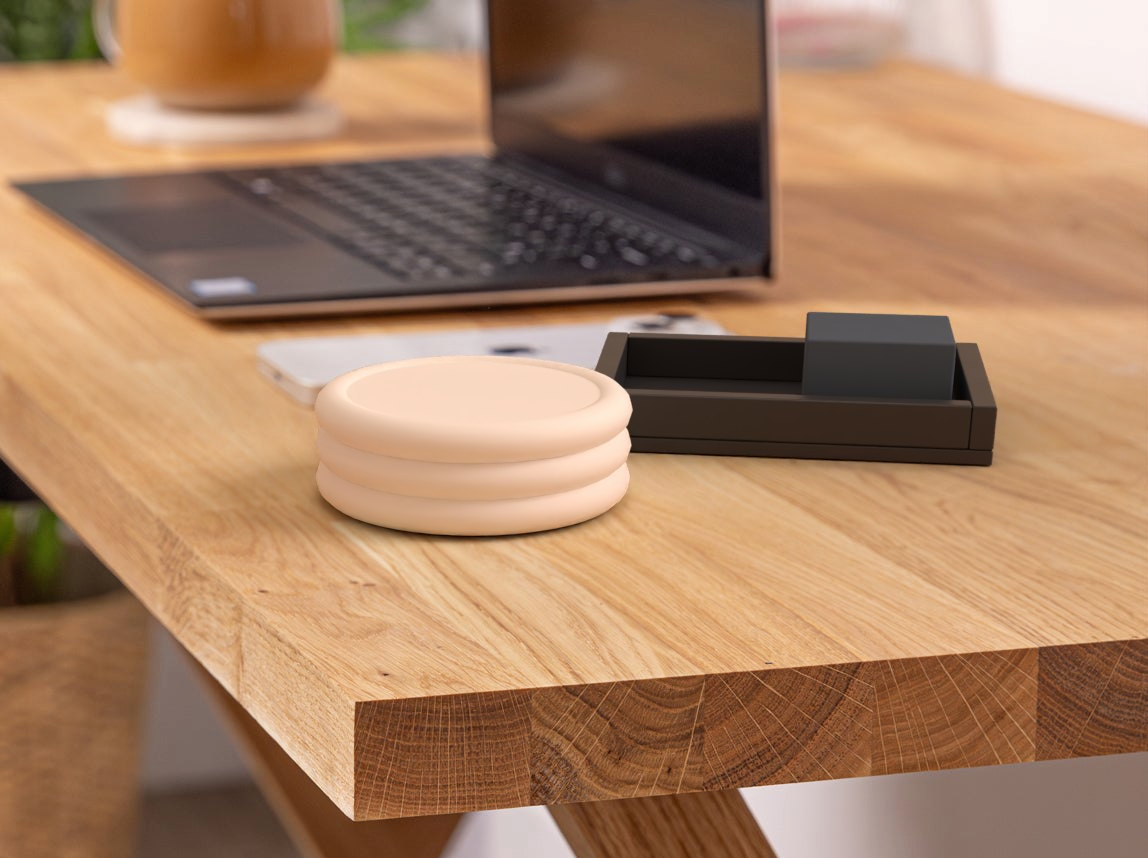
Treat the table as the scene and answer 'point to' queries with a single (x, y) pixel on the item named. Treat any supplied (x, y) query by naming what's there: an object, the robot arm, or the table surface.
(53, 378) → the table surface
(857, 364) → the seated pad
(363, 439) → the coaster
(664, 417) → the tray
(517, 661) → the table surface
